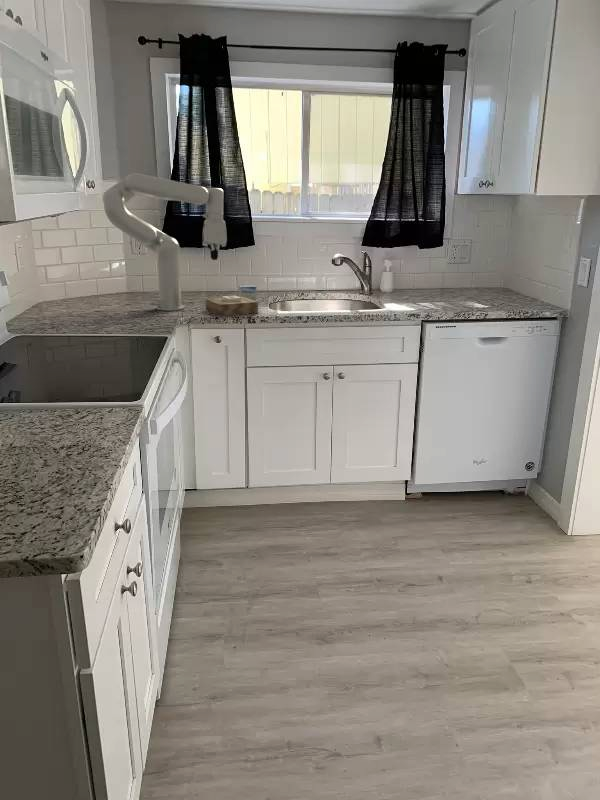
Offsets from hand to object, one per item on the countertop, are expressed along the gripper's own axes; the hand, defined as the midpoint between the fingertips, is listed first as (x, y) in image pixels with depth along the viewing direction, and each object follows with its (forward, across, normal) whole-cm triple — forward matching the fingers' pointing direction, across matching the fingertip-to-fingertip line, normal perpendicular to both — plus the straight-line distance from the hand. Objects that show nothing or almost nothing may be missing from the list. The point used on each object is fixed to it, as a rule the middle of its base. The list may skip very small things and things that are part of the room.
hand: (214, 259), depth 278 cm
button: (+21, +4, -14) cm, 25 cm away
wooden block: (+21, +4, -14) cm, 26 cm away
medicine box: (+21, +18, +2) cm, 28 cm away
